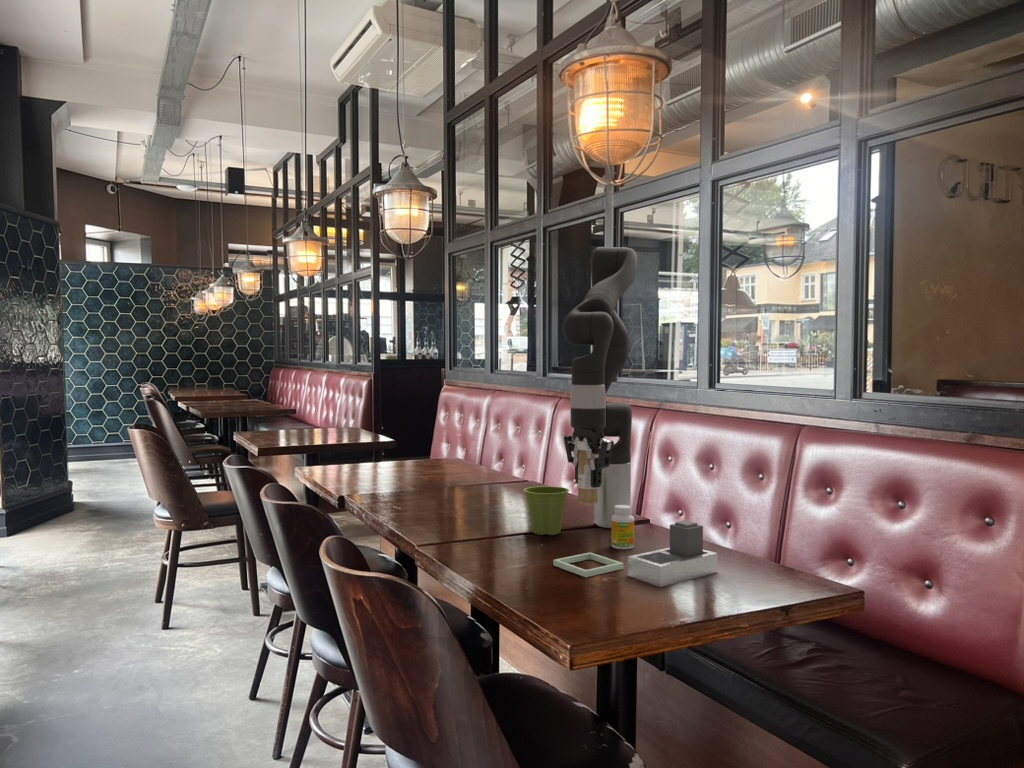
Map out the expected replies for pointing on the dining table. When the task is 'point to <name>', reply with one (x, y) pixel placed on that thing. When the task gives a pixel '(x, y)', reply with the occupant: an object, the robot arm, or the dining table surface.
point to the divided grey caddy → (670, 566)
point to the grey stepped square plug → (686, 539)
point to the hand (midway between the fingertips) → (587, 485)
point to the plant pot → (546, 508)
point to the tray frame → (610, 566)
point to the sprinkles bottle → (585, 477)
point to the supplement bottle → (622, 528)
